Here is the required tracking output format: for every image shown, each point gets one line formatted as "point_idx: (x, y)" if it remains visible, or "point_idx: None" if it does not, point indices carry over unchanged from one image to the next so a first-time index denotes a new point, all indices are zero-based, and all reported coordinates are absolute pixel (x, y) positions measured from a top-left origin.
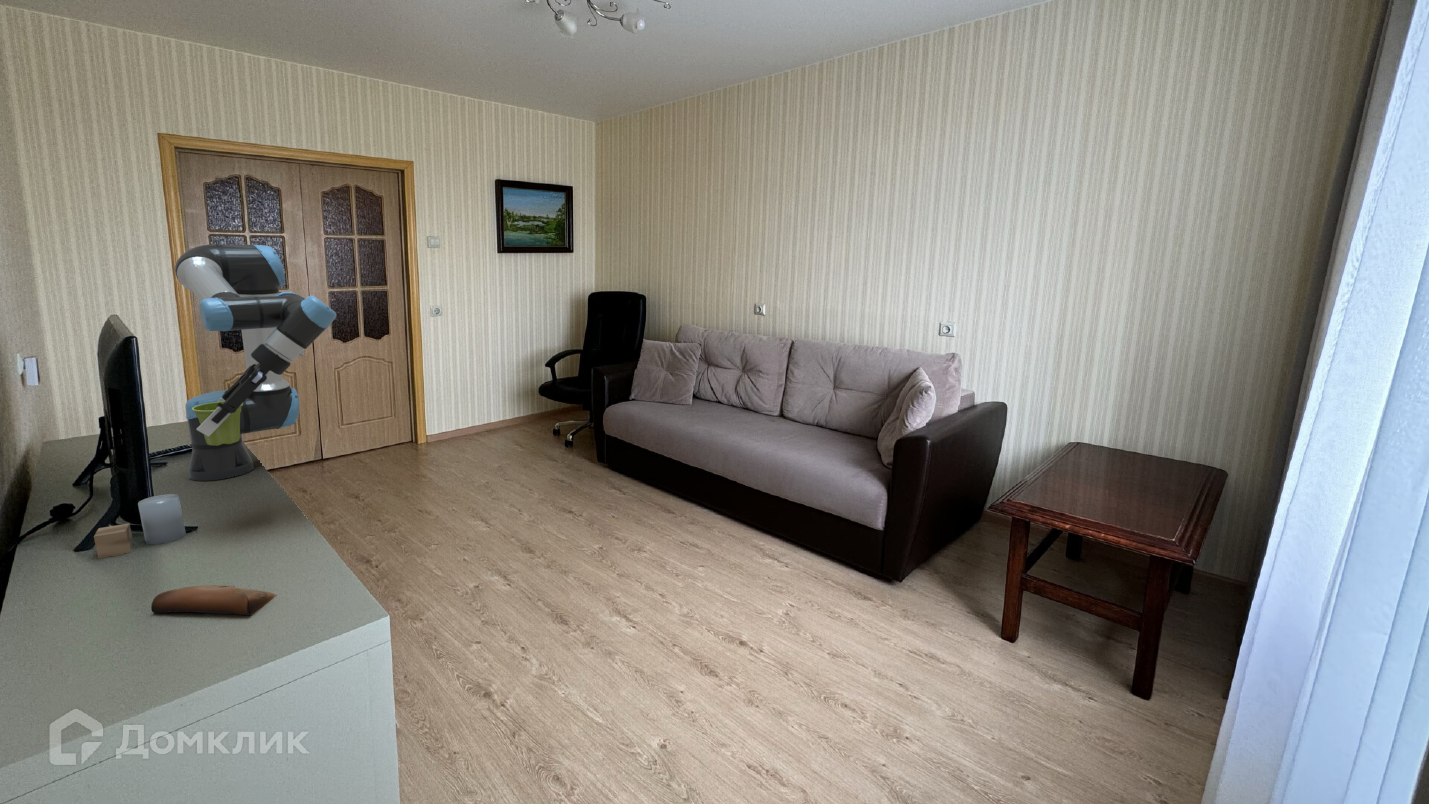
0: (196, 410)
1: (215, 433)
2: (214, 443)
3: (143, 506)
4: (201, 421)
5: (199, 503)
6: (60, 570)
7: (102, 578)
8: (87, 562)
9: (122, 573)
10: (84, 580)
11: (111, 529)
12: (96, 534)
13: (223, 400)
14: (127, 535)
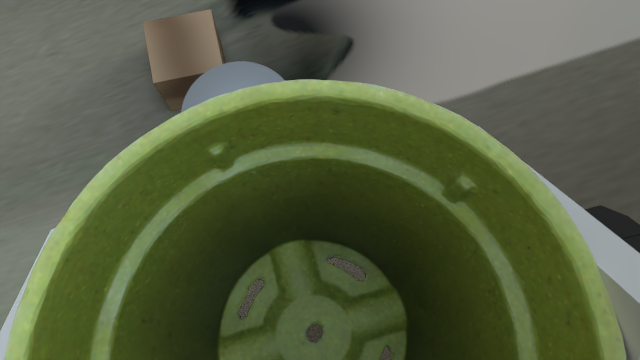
0: (99, 175)
1: (186, 331)
2: (219, 307)
3: (191, 89)
4: (189, 221)
5: (532, 153)
6: (118, 9)
7: (16, 113)
8: (145, 43)
9: (27, 145)
10: (24, 80)
11: (186, 43)
12: (158, 22)
13: (637, 344)
14: (172, 88)
